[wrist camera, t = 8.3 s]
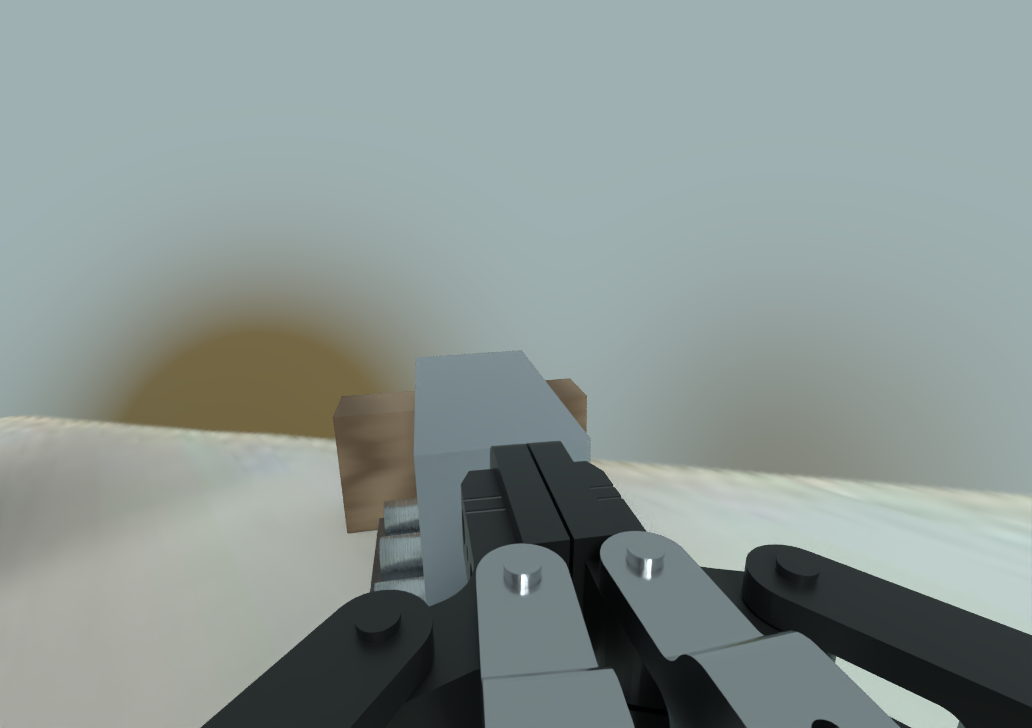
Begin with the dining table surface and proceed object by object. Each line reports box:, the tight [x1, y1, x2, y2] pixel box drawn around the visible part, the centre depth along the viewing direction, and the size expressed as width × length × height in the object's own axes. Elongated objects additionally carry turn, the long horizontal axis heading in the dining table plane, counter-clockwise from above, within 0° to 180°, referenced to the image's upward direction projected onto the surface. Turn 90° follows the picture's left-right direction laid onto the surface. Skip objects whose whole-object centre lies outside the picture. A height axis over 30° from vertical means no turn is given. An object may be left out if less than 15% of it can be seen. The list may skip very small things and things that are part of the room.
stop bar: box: [333, 379, 587, 533], centre depth 37 cm, size 16×4×8 cm, turn 100°
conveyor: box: [370, 498, 426, 603], centre depth 25 cm, size 12×23×2 cm, turn 10°
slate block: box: [414, 351, 590, 606], centre depth 27 cm, size 14×6×9 cm, turn 10°
